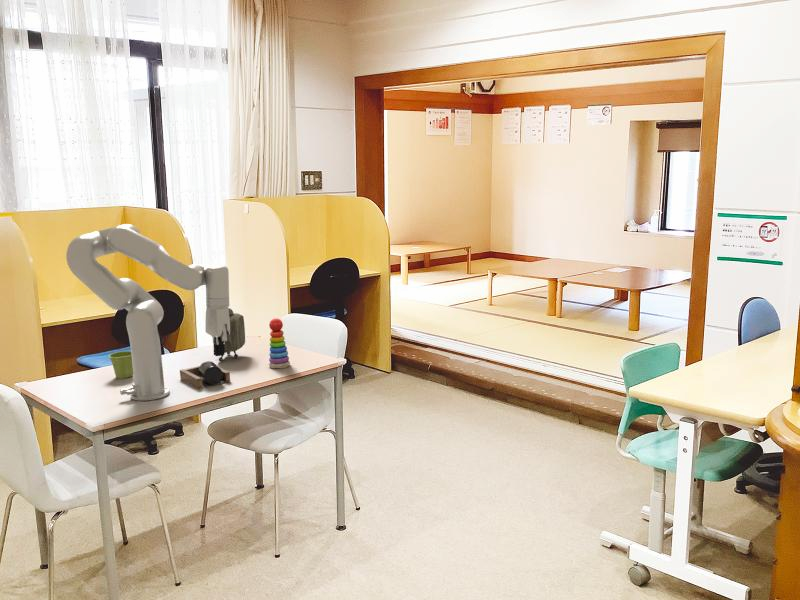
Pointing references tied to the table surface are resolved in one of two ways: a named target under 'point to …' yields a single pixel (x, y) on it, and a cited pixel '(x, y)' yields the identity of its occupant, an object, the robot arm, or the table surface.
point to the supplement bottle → (210, 373)
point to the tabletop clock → (235, 334)
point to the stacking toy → (277, 346)
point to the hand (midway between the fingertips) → (219, 355)
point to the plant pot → (122, 364)
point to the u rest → (195, 379)
